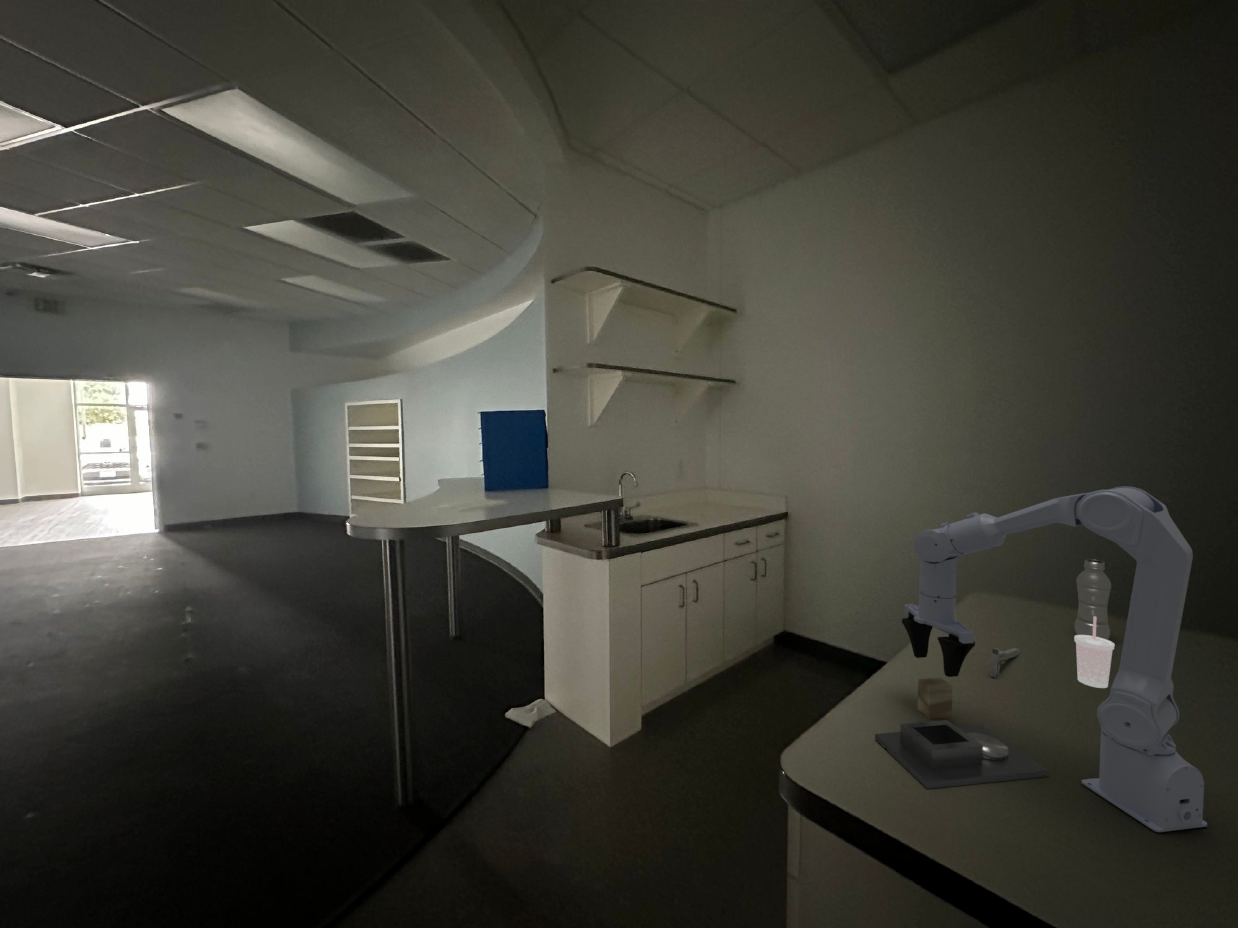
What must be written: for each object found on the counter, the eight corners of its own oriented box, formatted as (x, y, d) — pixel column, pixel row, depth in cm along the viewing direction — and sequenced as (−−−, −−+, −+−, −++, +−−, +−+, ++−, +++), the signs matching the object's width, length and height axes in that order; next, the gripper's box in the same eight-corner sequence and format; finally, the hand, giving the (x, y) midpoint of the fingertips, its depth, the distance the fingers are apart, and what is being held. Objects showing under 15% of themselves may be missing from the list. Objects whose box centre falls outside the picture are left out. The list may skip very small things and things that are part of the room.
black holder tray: (1048, 776, 75) (1049, 750, 75) (927, 788, 72) (927, 762, 72) (981, 730, 87) (981, 707, 86) (875, 739, 84) (875, 716, 84)
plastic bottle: (1083, 643, 122) (1087, 563, 121) (1068, 633, 129) (1070, 557, 128) (1116, 646, 121) (1119, 565, 120) (1098, 635, 127) (1101, 558, 126)
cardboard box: (951, 716, 91) (952, 685, 91) (929, 718, 90) (929, 686, 90) (939, 708, 94) (939, 677, 94) (917, 710, 93) (918, 679, 93)
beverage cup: (1117, 692, 99) (1120, 624, 98) (1076, 685, 102) (1079, 618, 101) (1107, 679, 104) (1110, 614, 103) (1069, 673, 107) (1071, 609, 107)
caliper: (995, 680, 105) (996, 651, 105) (989, 678, 106) (990, 649, 106) (1020, 653, 118) (1021, 627, 118) (1015, 651, 119) (1016, 626, 118)
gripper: (890, 583, 98) (889, 650, 98) (948, 608, 83) (946, 686, 84) (923, 581, 99) (921, 648, 99) (985, 606, 84) (983, 683, 85)
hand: (935, 665), depth 92 cm, fingers open, 7 cm apart
